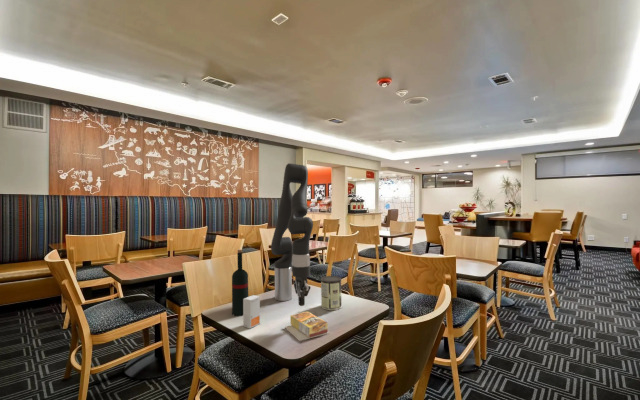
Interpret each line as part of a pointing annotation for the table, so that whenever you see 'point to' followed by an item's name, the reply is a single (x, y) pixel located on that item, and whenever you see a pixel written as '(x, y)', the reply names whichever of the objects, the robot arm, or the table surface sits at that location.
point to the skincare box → (251, 311)
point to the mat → (300, 333)
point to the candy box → (309, 324)
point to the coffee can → (331, 292)
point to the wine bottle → (239, 287)
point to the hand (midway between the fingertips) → (301, 305)
